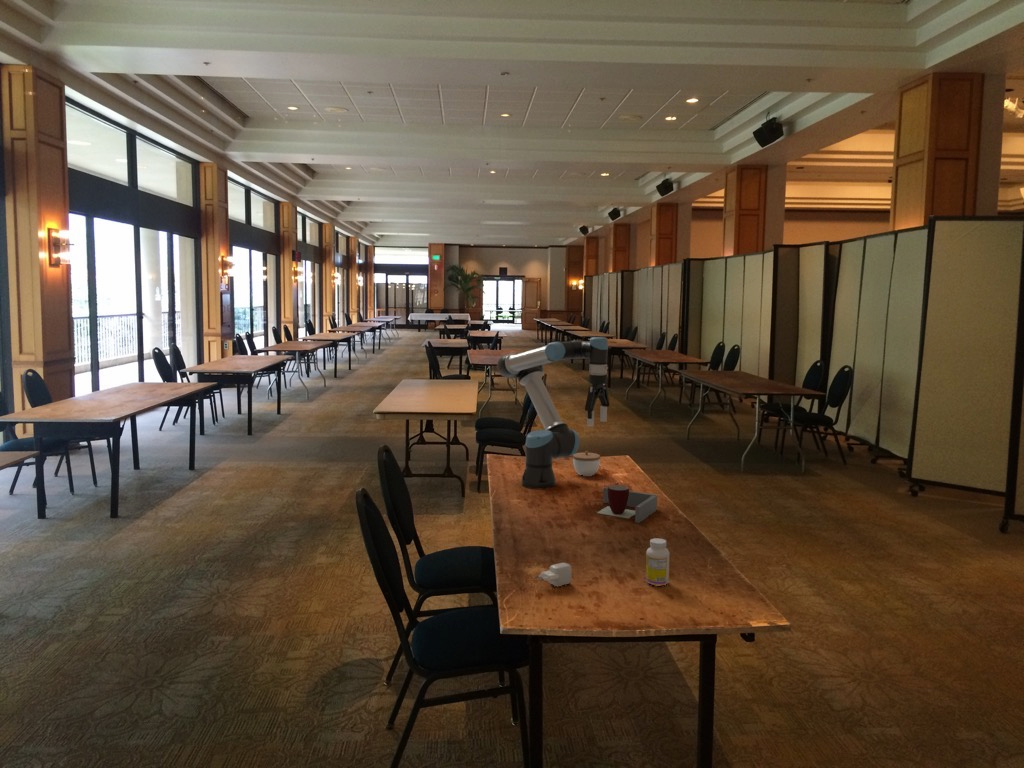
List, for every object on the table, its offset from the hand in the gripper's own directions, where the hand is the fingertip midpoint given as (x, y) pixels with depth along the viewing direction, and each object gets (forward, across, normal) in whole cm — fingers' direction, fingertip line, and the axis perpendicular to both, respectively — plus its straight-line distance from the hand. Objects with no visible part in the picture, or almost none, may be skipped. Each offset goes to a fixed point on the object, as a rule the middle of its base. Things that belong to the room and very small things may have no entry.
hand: (597, 423), depth 322 cm
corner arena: (+29, -25, -22) cm, 43 cm away
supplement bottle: (+29, -86, -58) cm, 108 cm away
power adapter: (+29, -104, -33) cm, 113 cm away
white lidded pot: (+29, +23, +15) cm, 40 cm away
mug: (+29, -26, -21) cm, 44 cm away
